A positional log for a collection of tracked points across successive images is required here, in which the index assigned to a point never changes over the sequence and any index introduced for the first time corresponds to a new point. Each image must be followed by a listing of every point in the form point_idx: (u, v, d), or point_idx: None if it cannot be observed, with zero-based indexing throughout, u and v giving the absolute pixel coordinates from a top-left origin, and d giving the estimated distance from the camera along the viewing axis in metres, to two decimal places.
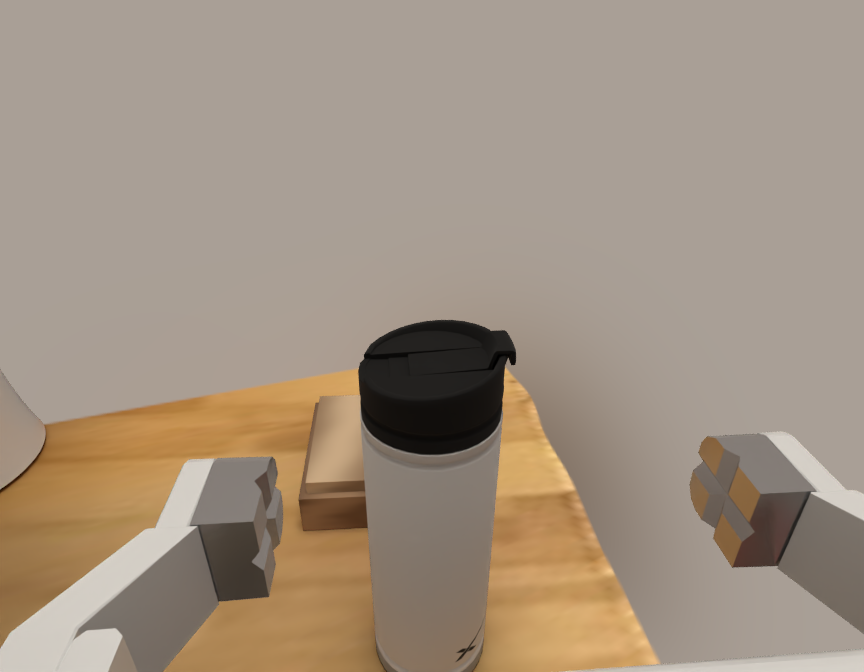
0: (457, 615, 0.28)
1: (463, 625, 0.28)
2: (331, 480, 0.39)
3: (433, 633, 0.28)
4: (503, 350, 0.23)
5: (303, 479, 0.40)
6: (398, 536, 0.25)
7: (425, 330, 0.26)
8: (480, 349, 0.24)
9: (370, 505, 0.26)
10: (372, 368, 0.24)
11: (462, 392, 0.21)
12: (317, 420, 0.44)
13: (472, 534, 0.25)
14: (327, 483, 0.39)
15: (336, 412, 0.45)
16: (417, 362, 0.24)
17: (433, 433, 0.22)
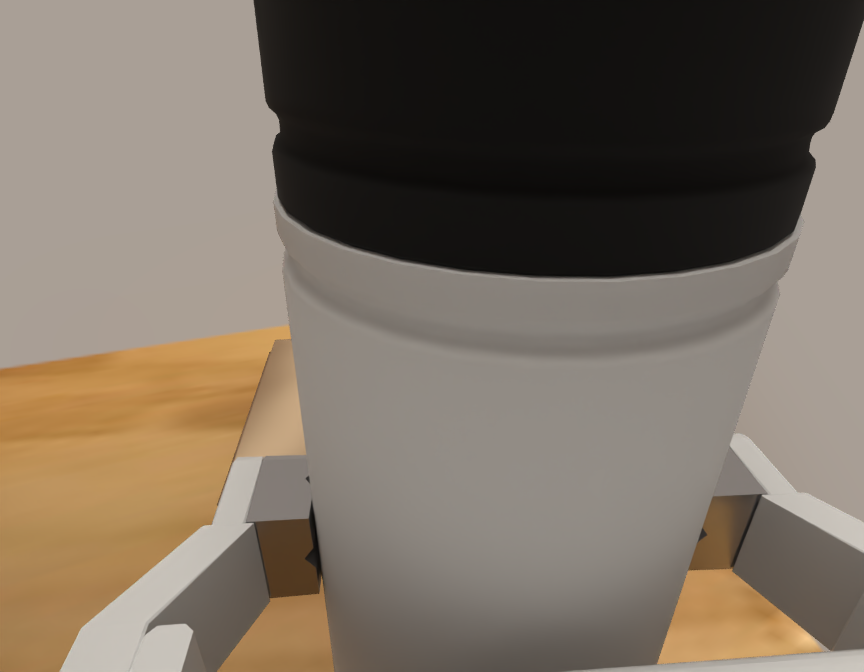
0: None
1: None
2: None
3: None
4: None
5: None
6: (411, 626, 0.07)
7: None
8: None
9: (321, 518, 0.08)
10: None
11: None
12: (266, 373, 0.27)
13: (658, 614, 0.08)
14: None
15: None
16: None
17: (605, 138, 0.04)
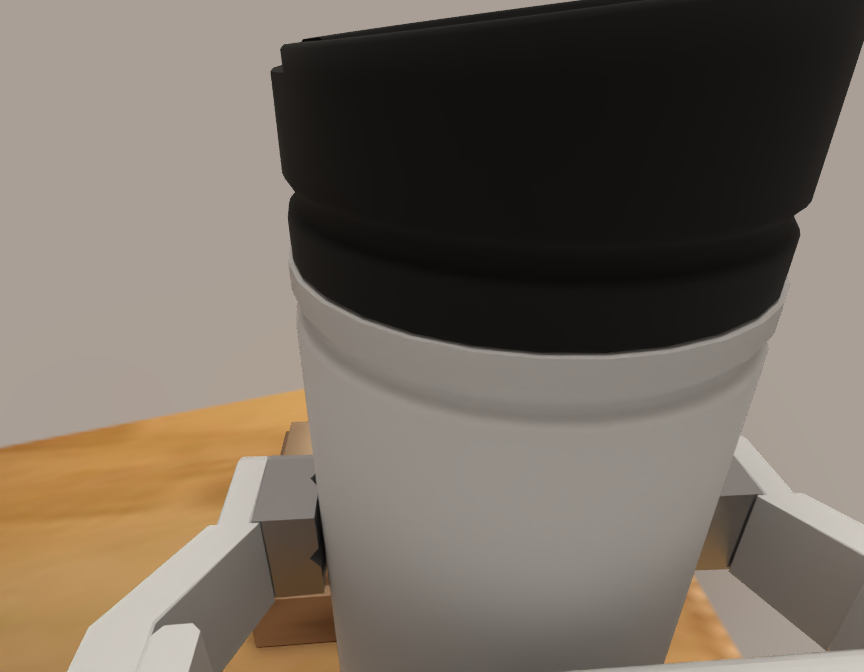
0: None
1: None
2: None
3: None
4: None
5: None
6: (420, 661, 0.08)
7: None
8: None
9: (332, 554, 0.08)
10: None
11: None
12: None
13: (655, 647, 0.08)
14: None
15: None
16: None
17: (602, 236, 0.04)
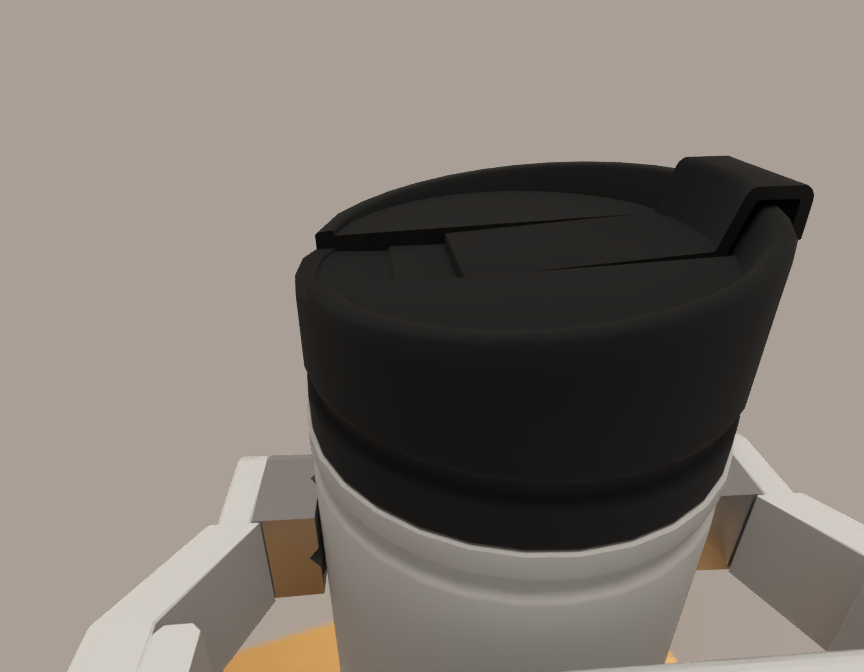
0: None
1: None
2: None
3: None
4: (776, 185, 0.07)
5: None
6: None
7: (481, 190, 0.10)
8: (655, 215, 0.08)
9: (346, 659, 0.10)
10: (340, 270, 0.08)
11: (709, 306, 0.05)
12: None
13: None
14: None
15: None
16: (479, 248, 0.08)
17: (573, 477, 0.06)
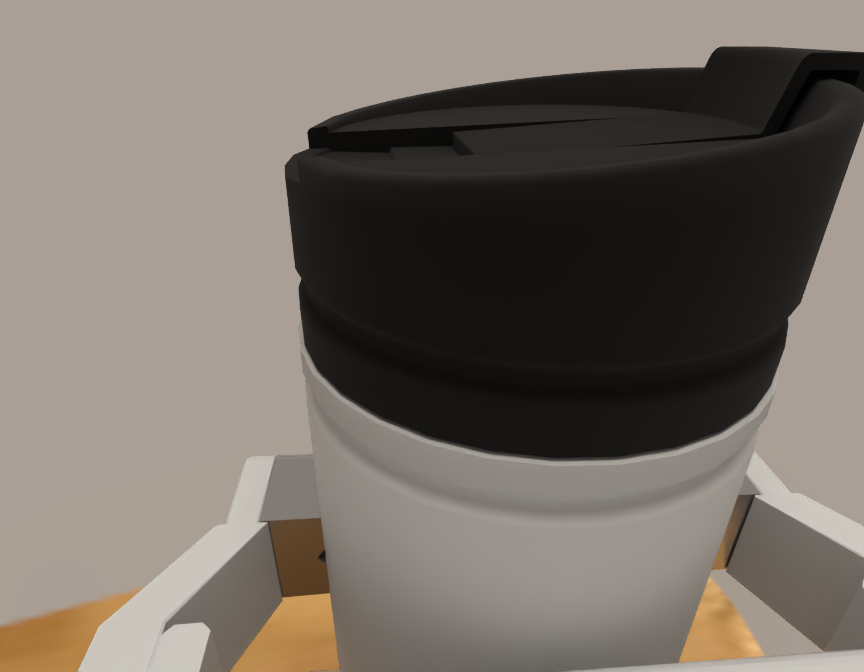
0: None
1: None
2: None
3: None
4: (832, 53, 0.06)
5: None
6: None
7: (489, 104, 0.09)
8: (686, 114, 0.08)
9: (342, 618, 0.09)
10: None
11: (782, 141, 0.04)
12: None
13: None
14: None
15: None
16: (493, 139, 0.07)
17: (614, 361, 0.05)
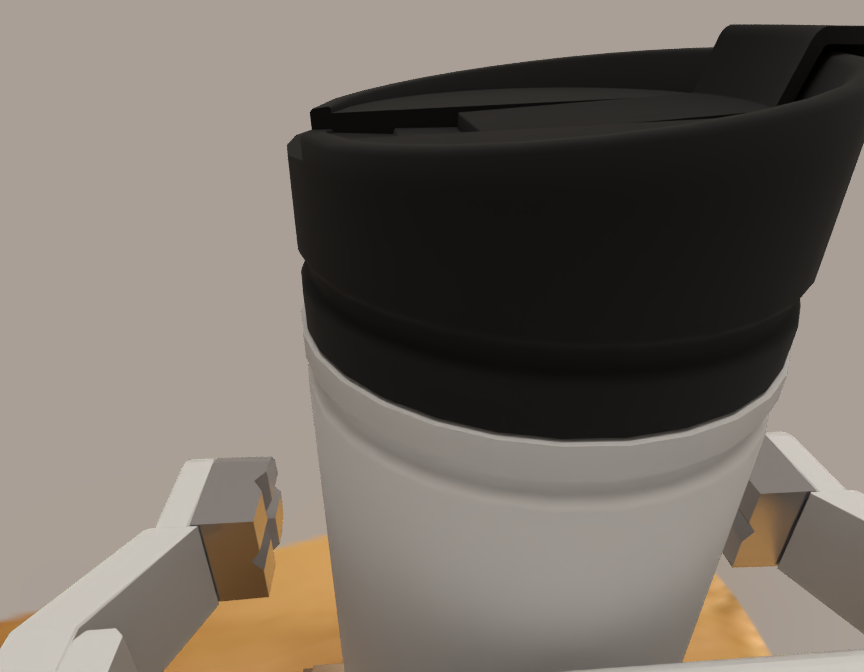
0: None
1: None
2: None
3: None
4: (847, 27, 0.06)
5: None
6: None
7: (493, 88, 0.09)
8: (695, 94, 0.07)
9: (345, 607, 0.09)
10: None
11: (801, 107, 0.04)
12: None
13: None
14: None
15: None
16: (499, 118, 0.07)
17: (626, 337, 0.05)
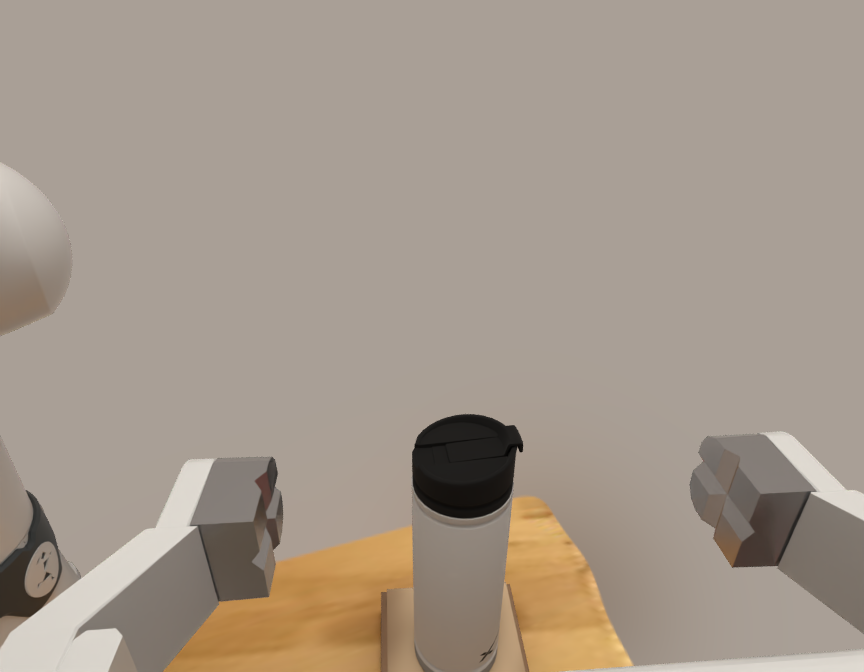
0: (481, 628, 0.38)
1: (485, 634, 0.38)
2: None
3: (463, 641, 0.38)
4: (514, 443, 0.33)
5: None
6: (441, 573, 0.35)
7: (455, 422, 0.36)
8: (496, 438, 0.35)
9: (418, 551, 0.36)
10: (421, 456, 0.34)
11: (489, 477, 0.31)
12: (388, 625, 0.45)
13: (493, 569, 0.35)
14: None
15: (406, 613, 0.45)
16: (453, 450, 0.34)
17: (469, 504, 0.32)
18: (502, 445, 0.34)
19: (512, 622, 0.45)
